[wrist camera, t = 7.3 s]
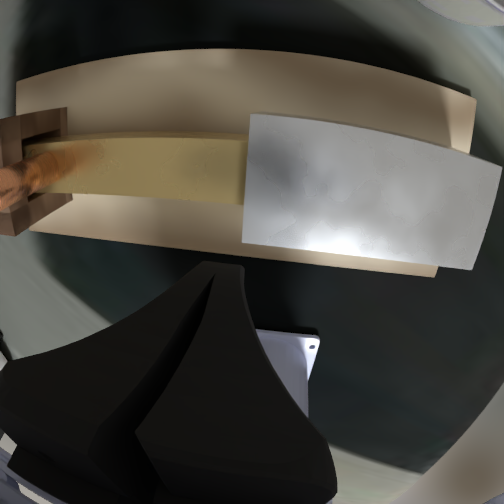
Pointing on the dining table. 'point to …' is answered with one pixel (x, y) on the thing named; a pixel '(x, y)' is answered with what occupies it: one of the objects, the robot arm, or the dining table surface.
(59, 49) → the dining table surface
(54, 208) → the walnut socket
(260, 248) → the birch board
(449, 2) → the teacup
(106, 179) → the gold square bar
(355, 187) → the steel block
